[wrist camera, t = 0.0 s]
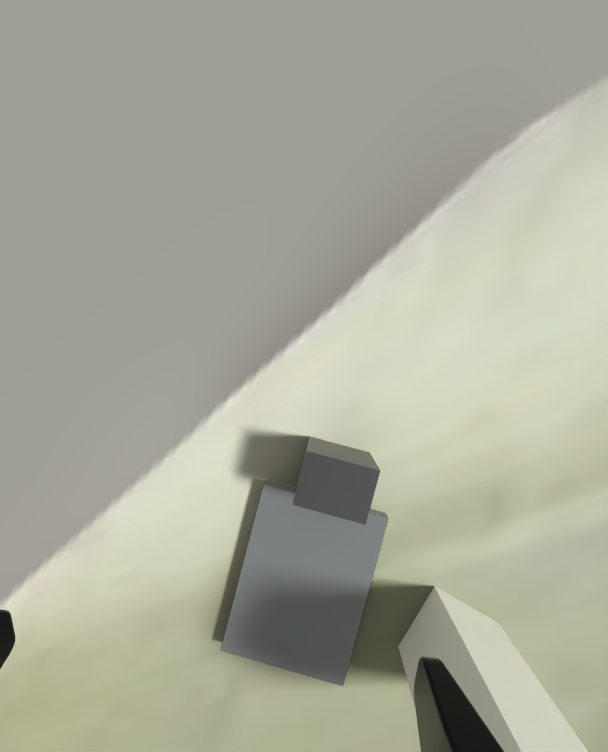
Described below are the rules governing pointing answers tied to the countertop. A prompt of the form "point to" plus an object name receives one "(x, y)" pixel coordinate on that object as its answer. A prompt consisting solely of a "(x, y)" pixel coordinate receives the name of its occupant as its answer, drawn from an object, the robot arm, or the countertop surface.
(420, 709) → the robot arm
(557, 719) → the brick
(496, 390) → the countertop surface
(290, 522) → the charging dock
